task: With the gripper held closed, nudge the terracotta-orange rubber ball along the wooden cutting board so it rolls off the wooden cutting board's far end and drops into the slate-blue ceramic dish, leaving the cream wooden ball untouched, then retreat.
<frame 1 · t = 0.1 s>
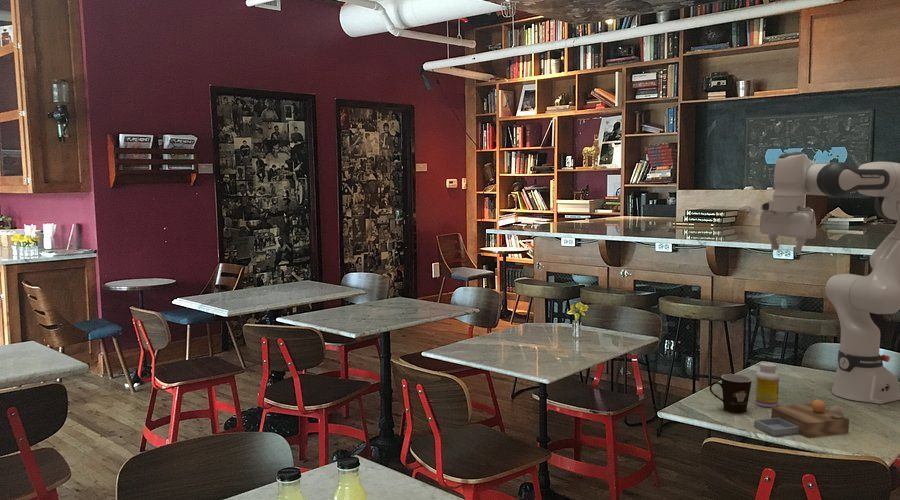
hand: (785, 251, 223), 48 cm above the table, tool pointing down, fingers open, 8 cm apart
supplement bottle: (765, 405, 227), on the table
cream ball: (836, 411, 203), point 6 cm above the table, touching wooden cutting board
dish: (776, 430, 205), on the table
ball: (818, 405, 208), point 6 cm above the table, touching wooden cutting board
coffee mug: (729, 410, 223), on the table
wooden cutting board: (808, 426, 208), on the table
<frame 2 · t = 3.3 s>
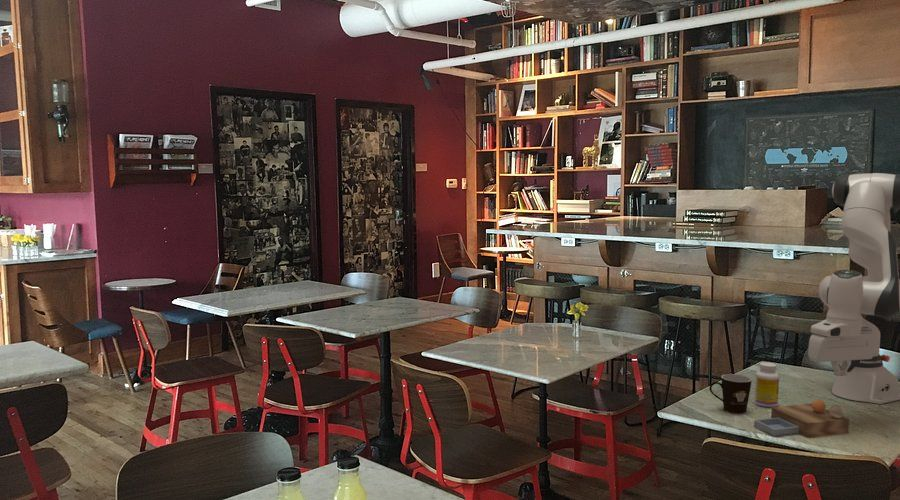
hand: (840, 375, 209), 14 cm above the table, tool pointing down, fingers closed
nothing on the table moved.
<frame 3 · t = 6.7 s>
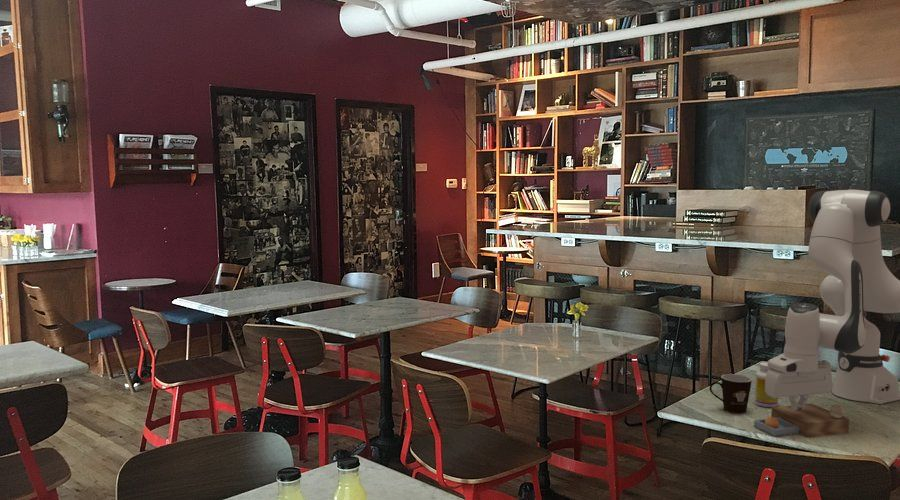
hand: (797, 410, 206), 5 cm above the table, tool pointing down, fingers closed
ball: (771, 423, 204), point 2 cm above the table, tilted 166°, touching dish
everything else where it was.
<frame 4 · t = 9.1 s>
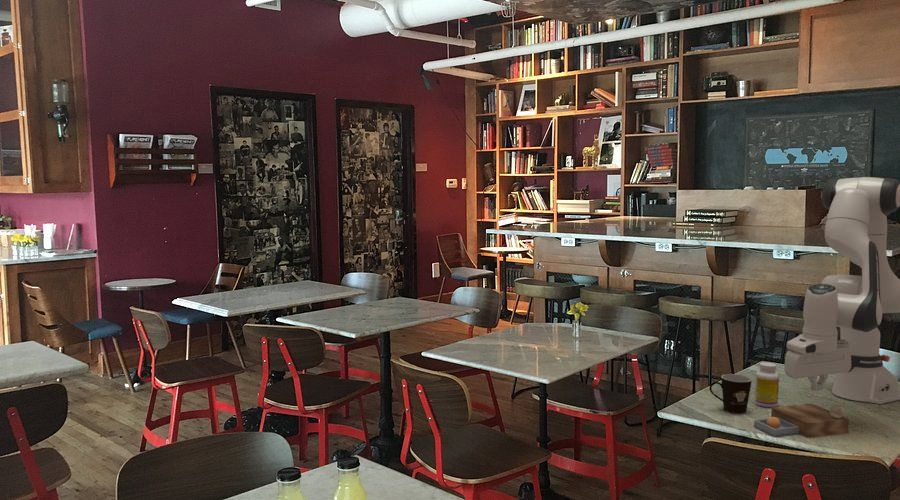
hand: (817, 389, 208), 10 cm above the table, tool pointing down, fingers closed
ball: (773, 423, 204), point 2 cm above the table, tilted 150°, touching dish
everything else where it was.
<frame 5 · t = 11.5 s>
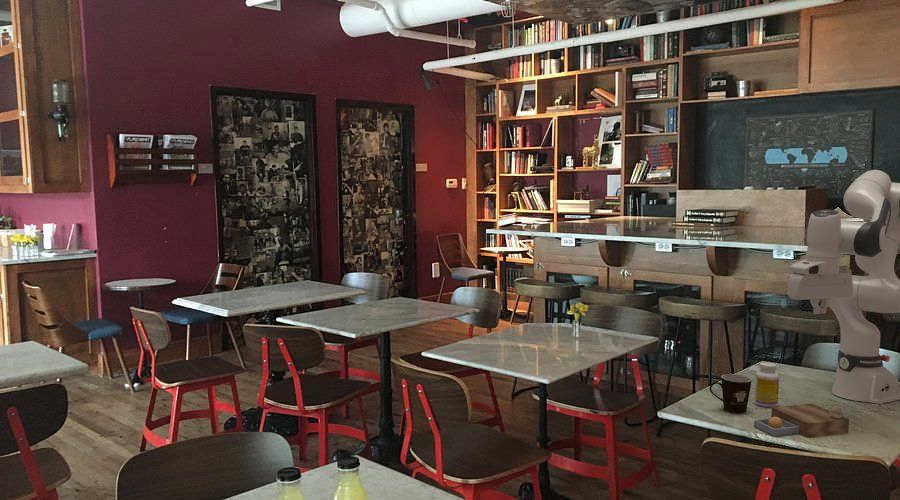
hand: (819, 313, 212), 31 cm above the table, tool pointing down, fingers closed
ball: (775, 423, 204), point 2 cm above the table, tilted 135°, touching dish
everything else where it was.
at the end: ball inside the target area on the dish (0.8 cm from its centre), point 2.2 cm above the dish's base; cream ball moved 0.0 cm from its start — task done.
